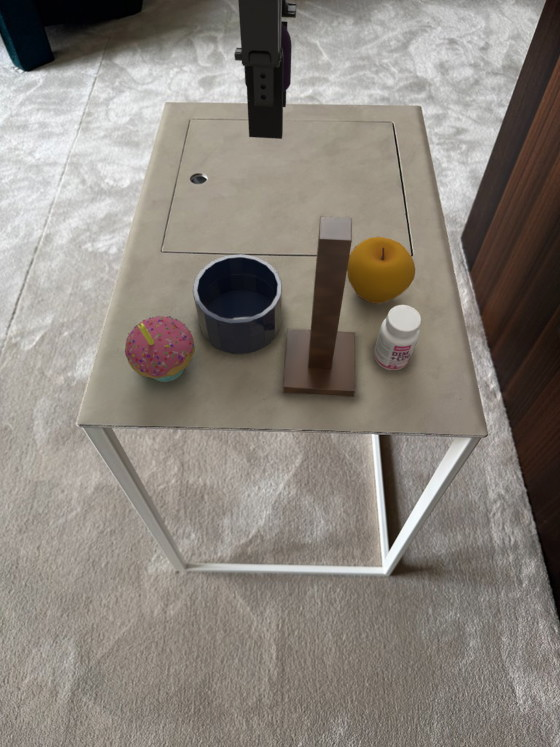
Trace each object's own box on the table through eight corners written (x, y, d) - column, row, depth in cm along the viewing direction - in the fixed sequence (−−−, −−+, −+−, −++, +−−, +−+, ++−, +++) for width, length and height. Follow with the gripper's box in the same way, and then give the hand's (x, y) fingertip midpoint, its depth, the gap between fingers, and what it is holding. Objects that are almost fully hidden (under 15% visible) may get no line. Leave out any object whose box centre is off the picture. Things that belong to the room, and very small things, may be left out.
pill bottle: (389, 377, 70) (401, 340, 63) (366, 351, 72) (375, 313, 65) (417, 360, 72) (432, 322, 64) (394, 335, 74) (406, 295, 66)
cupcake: (182, 402, 68) (165, 349, 58) (121, 383, 70) (94, 328, 59) (208, 348, 72) (197, 290, 62) (150, 331, 74) (130, 271, 64)
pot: (194, 352, 72) (186, 320, 66) (206, 286, 78) (200, 251, 72) (278, 357, 72) (278, 325, 66) (284, 290, 78) (284, 256, 72)
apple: (416, 285, 78) (431, 239, 70) (390, 328, 74) (403, 285, 66) (359, 261, 81) (368, 214, 73) (331, 302, 77) (337, 257, 69)
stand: (282, 392, 69) (284, 261, 48) (287, 334, 74) (290, 192, 53) (353, 397, 69) (385, 267, 48) (353, 338, 73) (382, 197, 53)
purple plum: (242, 94, 42) (239, 32, 38) (247, 68, 44) (244, 6, 40) (289, 97, 42) (290, 34, 38) (292, 70, 44) (293, 8, 40)
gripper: (338, -296, 21) (308, 188, 41) (343, -363, 30) (316, 65, 50) (148, -301, 21) (210, 183, 42) (208, -365, 30) (235, 61, 50)
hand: (268, 118), depth 46 cm, fingers closed on purple plum, 4 cm apart
